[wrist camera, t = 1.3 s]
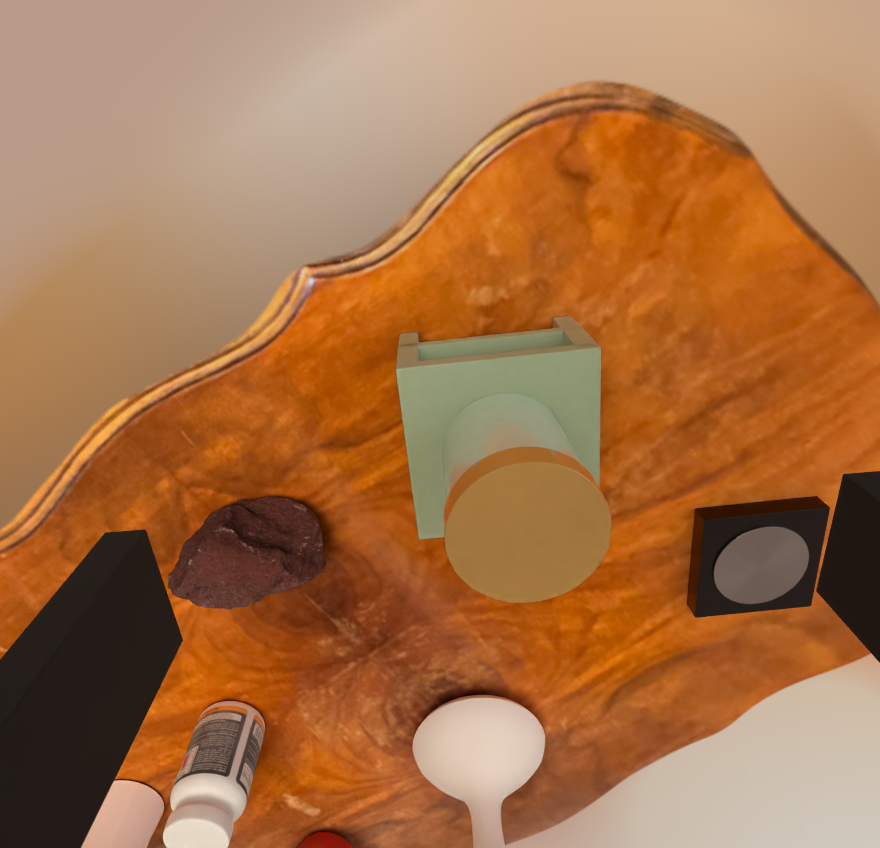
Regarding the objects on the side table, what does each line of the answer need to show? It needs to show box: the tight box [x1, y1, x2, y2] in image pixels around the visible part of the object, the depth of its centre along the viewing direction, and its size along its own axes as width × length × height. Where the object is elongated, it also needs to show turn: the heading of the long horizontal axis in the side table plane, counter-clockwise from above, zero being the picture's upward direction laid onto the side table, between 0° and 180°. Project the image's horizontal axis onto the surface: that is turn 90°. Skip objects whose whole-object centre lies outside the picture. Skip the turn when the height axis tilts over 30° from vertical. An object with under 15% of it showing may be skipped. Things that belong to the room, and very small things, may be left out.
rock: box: [168, 497, 326, 609], centre depth 43 cm, size 11×6×8 cm
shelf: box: [396, 316, 601, 539], centre depth 37 cm, size 11×11×7 cm
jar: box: [442, 393, 612, 603], centre depth 30 cm, size 7×7×8 cm
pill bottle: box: [163, 701, 265, 848], centre depth 47 cm, size 6×6×10 cm
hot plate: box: [687, 496, 830, 617], centre depth 46 cm, size 9×9×2 cm
